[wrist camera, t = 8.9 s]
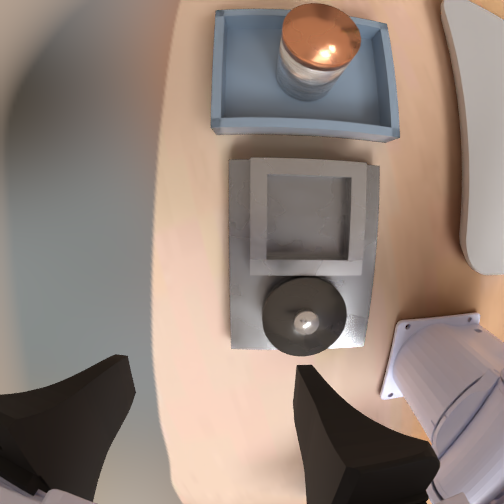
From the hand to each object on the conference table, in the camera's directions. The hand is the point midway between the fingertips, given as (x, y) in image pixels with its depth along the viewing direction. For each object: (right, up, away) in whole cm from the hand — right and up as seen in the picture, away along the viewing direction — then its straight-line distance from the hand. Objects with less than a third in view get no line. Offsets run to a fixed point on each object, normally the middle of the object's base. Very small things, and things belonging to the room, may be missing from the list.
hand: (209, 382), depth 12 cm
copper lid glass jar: (+5, +17, +6) cm, 19 cm away
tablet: (+26, +17, +7) cm, 32 cm away
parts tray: (+5, +18, +7) cm, 20 cm away
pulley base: (+5, +5, +9) cm, 12 cm away
